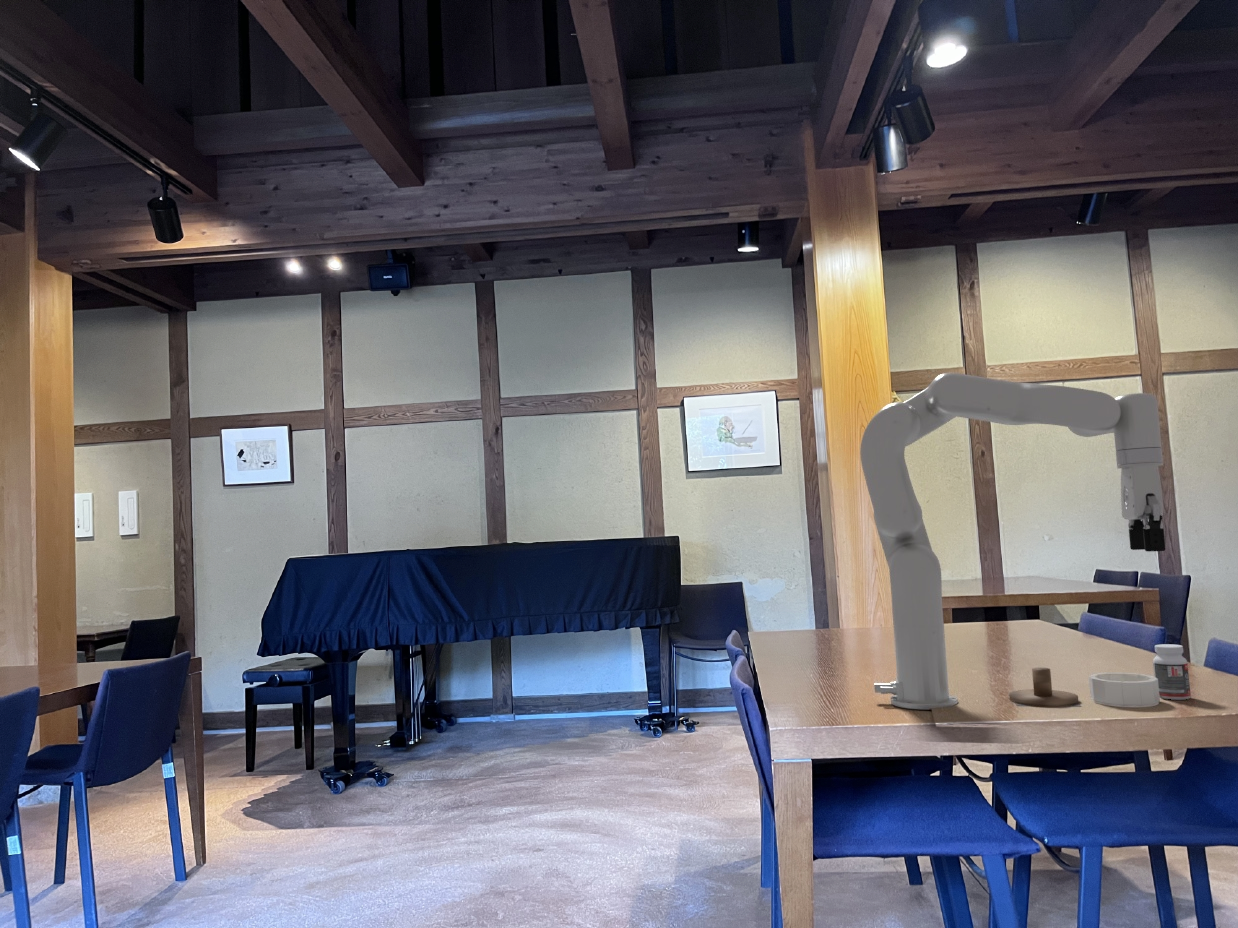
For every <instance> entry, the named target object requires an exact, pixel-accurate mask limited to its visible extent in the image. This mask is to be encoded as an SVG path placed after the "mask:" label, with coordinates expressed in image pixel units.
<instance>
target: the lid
mask: <svg viewBox="0 0 1238 928" xmlns="http://www.w3.org/2000/svg"><path fill="white" fill-rule="evenodd" d="M1031 672H1032V674H1031V675H1032V687H1033V689H1021V690H1014V691H1011V692H1010V693H1008V696H1009V701H1011V702H1012V703H1014V704H1015V703H1018V704H1023V705H1031V706H1030V707H1043V708H1044V707H1046V708H1047V707H1048V708H1051V707H1054V708H1057V707H1060V708H1062V707H1061V706H1069V705H1074V704H1077V703H1078V704H1079V695H1077V694H1076V693H1074V692H1069V691H1064V690H1056V689H1053V687H1052V672H1051V669H1050V668H1048V667H1032V668H1031Z"/></svg>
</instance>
